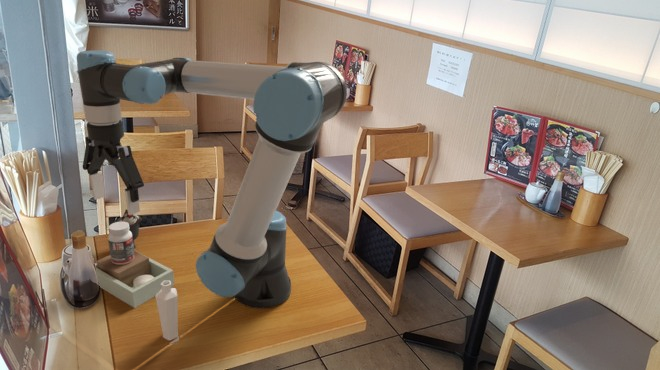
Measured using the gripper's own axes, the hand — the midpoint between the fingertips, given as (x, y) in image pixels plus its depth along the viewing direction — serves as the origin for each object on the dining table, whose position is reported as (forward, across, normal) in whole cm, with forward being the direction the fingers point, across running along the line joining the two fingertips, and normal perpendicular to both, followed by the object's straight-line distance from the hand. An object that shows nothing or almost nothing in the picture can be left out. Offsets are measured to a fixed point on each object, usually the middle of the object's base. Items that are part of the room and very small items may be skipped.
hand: (116, 205), depth 114 cm
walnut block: (+22, 0, 0) cm, 22 cm away
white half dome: (+22, -8, 0) cm, 23 cm away
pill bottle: (+16, 0, 0) cm, 16 cm away
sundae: (+23, +12, -11) cm, 28 cm away
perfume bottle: (+23, -26, +7) cm, 35 cm away
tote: (+23, -2, 0) cm, 23 cm away
